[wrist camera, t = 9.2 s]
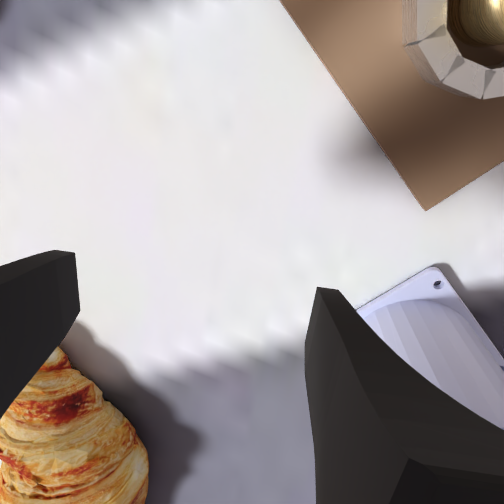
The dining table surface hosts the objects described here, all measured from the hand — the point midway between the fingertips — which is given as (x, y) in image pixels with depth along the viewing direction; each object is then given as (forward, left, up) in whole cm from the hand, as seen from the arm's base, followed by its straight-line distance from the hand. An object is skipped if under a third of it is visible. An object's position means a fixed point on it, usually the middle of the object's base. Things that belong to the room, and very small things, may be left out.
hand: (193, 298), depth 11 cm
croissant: (-7, +20, -10) cm, 24 cm away
